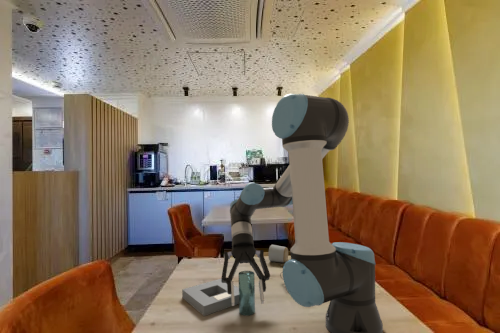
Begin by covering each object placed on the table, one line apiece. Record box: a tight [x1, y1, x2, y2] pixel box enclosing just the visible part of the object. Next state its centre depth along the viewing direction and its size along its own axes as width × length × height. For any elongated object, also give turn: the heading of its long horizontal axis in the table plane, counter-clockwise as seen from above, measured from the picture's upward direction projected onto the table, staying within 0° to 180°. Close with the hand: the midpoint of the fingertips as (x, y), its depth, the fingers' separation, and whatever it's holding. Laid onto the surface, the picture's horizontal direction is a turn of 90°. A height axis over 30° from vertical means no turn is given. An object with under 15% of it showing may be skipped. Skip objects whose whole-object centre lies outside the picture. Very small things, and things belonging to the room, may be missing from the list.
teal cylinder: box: [238, 270, 256, 316], centre depth 93 cm, size 5×5×12 cm
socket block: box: [181, 278, 239, 317], centre depth 102 cm, size 16×16×3 cm
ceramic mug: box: [267, 244, 289, 263], centre depth 143 cm, size 11×8×8 cm
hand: (248, 303), depth 90 cm, fingers open, 8 cm apart
